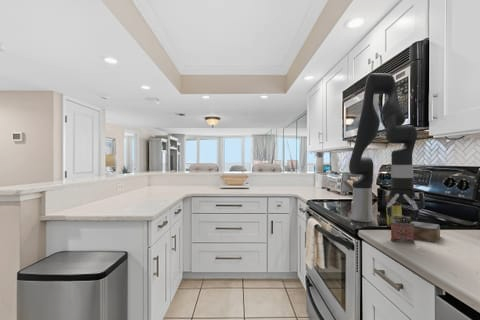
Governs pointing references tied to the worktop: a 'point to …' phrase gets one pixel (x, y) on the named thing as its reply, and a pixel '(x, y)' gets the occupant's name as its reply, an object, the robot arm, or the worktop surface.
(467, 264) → the worktop surface
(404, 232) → the lighter
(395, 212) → the sauce bottle
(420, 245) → the worktop surface
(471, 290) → the worktop surface
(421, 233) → the grey slab
